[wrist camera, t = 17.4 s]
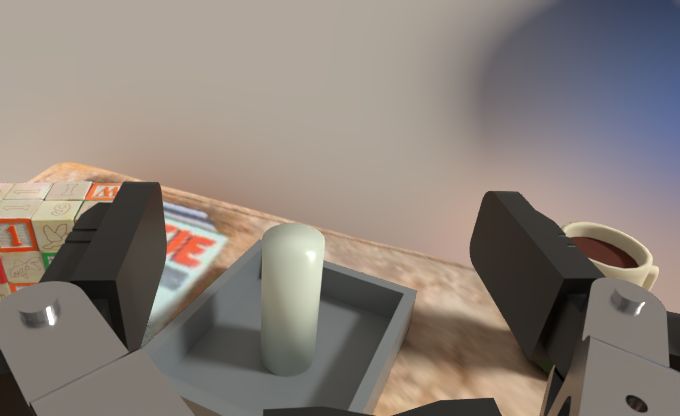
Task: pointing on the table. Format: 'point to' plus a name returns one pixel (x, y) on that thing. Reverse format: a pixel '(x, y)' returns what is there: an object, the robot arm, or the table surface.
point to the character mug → (611, 257)
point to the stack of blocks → (40, 225)
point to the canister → (290, 297)
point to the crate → (245, 344)
